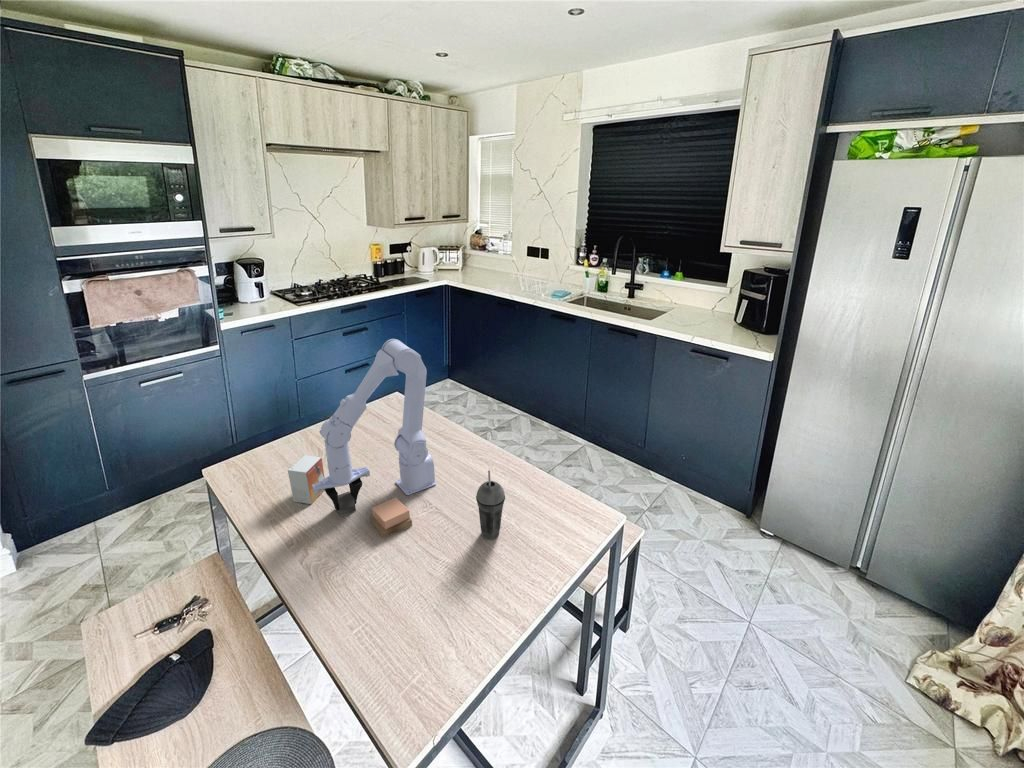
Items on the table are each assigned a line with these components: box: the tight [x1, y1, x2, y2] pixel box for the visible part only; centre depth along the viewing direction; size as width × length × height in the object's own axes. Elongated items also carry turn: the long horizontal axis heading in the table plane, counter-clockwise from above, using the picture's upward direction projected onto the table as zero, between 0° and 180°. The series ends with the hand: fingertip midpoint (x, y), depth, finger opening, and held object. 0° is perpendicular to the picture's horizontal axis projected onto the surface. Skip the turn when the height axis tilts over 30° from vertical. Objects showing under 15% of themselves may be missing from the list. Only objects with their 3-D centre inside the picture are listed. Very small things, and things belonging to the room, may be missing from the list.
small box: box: [287, 454, 326, 505], centre depth 138 cm, size 8×6×10 cm
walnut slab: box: [369, 514, 413, 539], centre depth 130 cm, size 8×8×2 cm
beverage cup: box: [475, 470, 506, 541], centre depth 123 cm, size 7×7×20 cm
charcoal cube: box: [337, 491, 357, 517], centre depth 134 cm, size 4×4×4 cm
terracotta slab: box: [371, 497, 411, 530], centre depth 129 cm, size 7×7×2 cm
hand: (345, 505), depth 134 cm, fingers closed on charcoal cube, 4 cm apart
